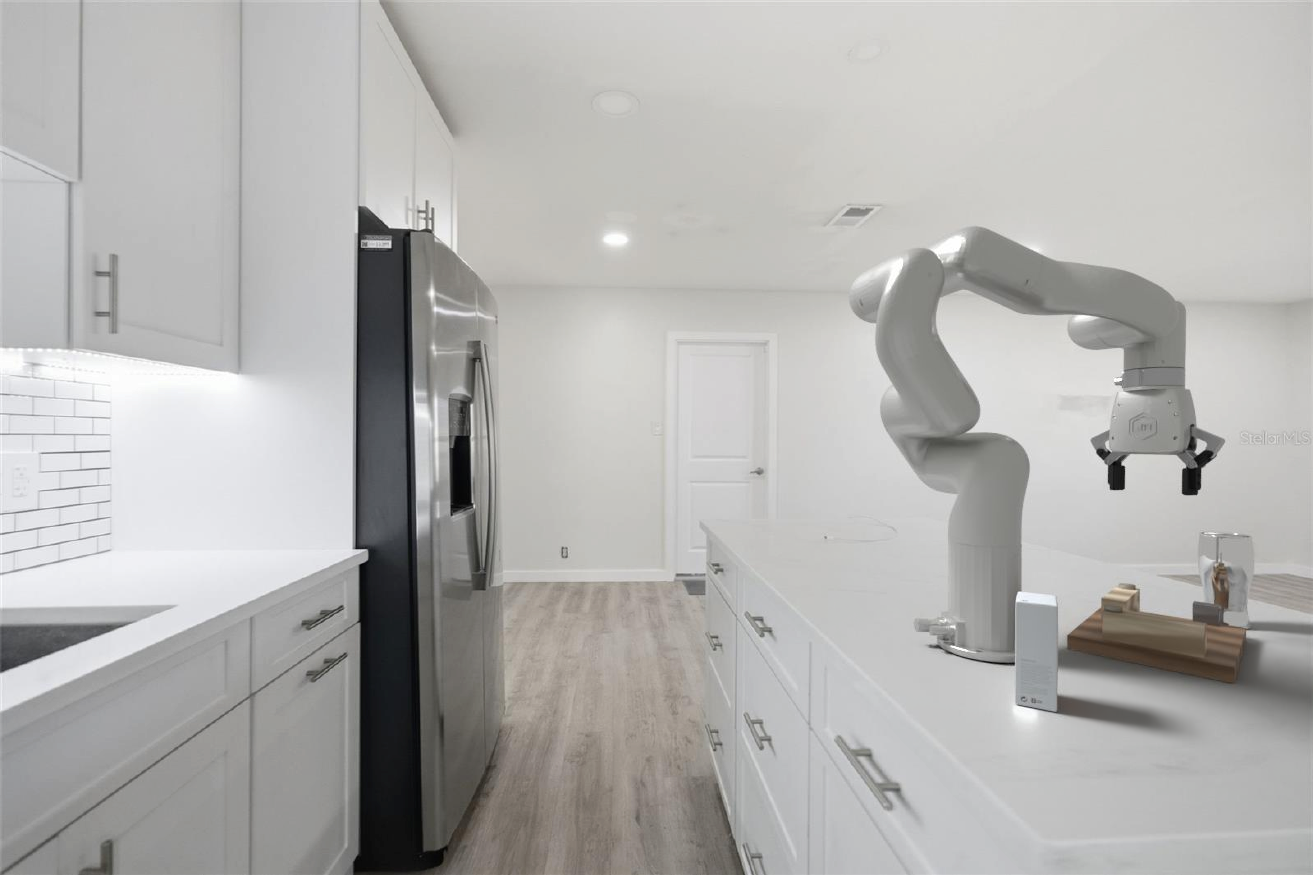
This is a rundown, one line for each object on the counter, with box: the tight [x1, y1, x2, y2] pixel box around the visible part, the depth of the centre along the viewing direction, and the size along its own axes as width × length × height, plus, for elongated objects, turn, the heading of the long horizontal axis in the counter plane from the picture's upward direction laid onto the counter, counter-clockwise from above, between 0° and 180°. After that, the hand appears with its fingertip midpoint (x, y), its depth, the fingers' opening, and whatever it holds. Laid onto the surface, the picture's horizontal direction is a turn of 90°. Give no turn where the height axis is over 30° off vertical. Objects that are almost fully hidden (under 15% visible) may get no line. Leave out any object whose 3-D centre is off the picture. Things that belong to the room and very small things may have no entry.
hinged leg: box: [1100, 582, 1141, 624], centre depth 99 cm, size 12×3×5 cm, turn 134°
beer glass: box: [1197, 531, 1255, 631], centre depth 104 cm, size 7×7×15 cm
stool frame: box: [1066, 600, 1247, 684], centre depth 93 cm, size 24×18×7 cm
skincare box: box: [1014, 591, 1059, 713], centre depth 73 cm, size 6×4×12 cm
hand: (1151, 492), depth 96 cm, fingers open, 9 cm apart
